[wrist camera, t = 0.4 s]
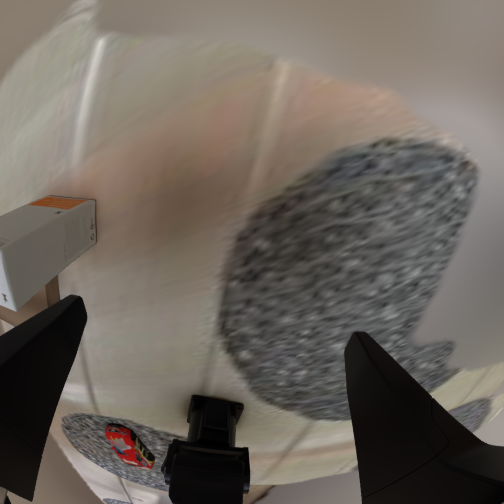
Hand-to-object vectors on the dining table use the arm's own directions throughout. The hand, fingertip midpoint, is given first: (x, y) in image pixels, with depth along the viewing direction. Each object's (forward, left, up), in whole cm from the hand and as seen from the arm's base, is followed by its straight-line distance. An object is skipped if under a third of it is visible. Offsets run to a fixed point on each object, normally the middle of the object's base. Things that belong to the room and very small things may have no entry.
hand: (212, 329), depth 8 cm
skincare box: (-4, +15, -15) cm, 22 cm away
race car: (-43, +9, -16) cm, 47 cm away
